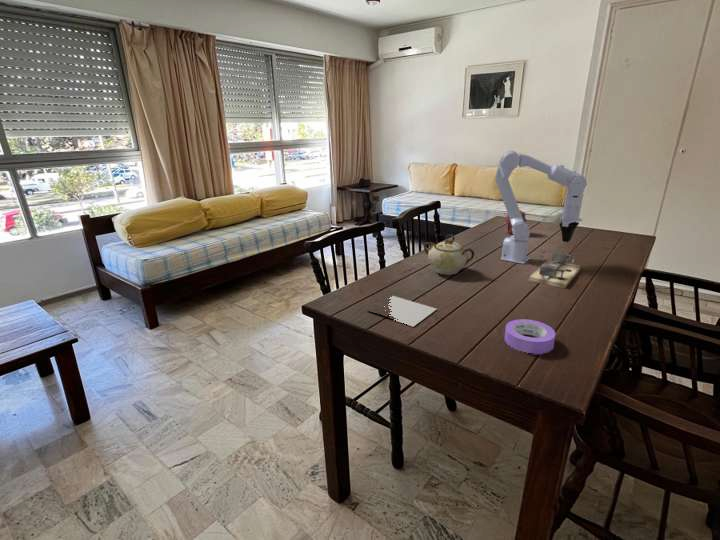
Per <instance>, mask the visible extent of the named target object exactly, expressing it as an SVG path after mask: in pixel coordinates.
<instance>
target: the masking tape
mask: <svg viewBox="0 0 720 540" xmlns="http://www.w3.org/2000/svg"><path fill="white" fill-rule="evenodd" d="M526 335H528V336H526ZM532 336H533V337H532ZM555 338H556V331H555V330H554V328H552V327H551V326H550V325H547V324H546V323H543V322H541V321H537V320H534V319H525V318H523V319H521V318H520V319H515V320H511V321H508V322H507V323H506V325H505V332H504V342H505V343H506V344H507V346H509V345H510V346H511V348H512V347H513V348H514V350H515V349H516V351H518V350H519V351H518V352H520V351H522V352H521V353H524V352H526V353H525V354H528V353H533V354H532V355H543V354H542V353H546V354H548V353H550V352H552V351H553V350H554V347H555V340H556V339H555ZM510 346H509V347H510ZM513 348H512V349H513ZM551 350H552V351H551ZM549 351H550V352H549ZM547 352H548V353H547Z"/></svg>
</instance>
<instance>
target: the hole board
mask: <svg viewBox="0 0 720 540" xmlns="http://www.w3.org/2000/svg"><path fill="white" fill-rule="evenodd" d="M581 267H582V266H581V265H578V264H574V263H573V264H572V263H568V262H567V263H566V264H565V263H560V262H554V261H552V259H547V260H545V262H543V264H541V265H540V266H539V267H538V268H537V269H536V270H535V271H534V272H532V274H530V276H529V278H528V281H529V282H532V283H533V282H534V283H538V284H543V285H547V286H552V287H557V288H561V289H566V288H567V287H568V286H569V284H570V283H571V281H573V279H574V278H575V277H576V275H577V274H578V273H579V272H580V270H581Z"/></svg>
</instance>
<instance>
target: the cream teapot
mask: <svg viewBox="0 0 720 540" xmlns="http://www.w3.org/2000/svg"><path fill="white" fill-rule="evenodd" d="M449 237H451V238H452V240H448V238H449ZM428 245H429V246H430V249H429V251H428V249H427V246H428ZM423 249H424V251H425V253H426V254H427V258H428V261H429V263H430V265H431V266H432V267H433V269H434V270H435V272H436V273H437V274H439V273H440V274H439V275H443V274H445V275H444V276H453V275H452V274H454V275H456V274H458V273H459V271H460V270H462V269H463V268H464V267H465V266H467V265H468V264H469V262H470V261H472V260H473V259H474V257H475V251H474V250H473V249H472V248H470V247H467V248H464V246H463V245H462V244H459V243H457V242H455V236H454V235H453V234H452V233H449V234H447V235H446V236H445V237H444V241H442V242H441V241H440V242H437V243H433V242H431V241H430V242H429V241H427V242H425V243H424V244H423ZM468 252H470V253H471V255H470V257H469V253H468Z"/></svg>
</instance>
